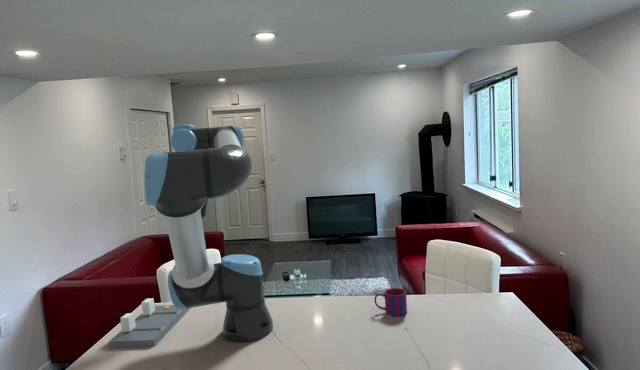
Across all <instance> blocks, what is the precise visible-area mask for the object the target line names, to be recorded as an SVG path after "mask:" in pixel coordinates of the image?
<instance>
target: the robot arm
mask: <svg viewBox="0 0 640 370" xmlns="http://www.w3.org/2000/svg"><path fill="white" fill-rule="evenodd" d="M243 132H244V131H243V128H242V127H241V126H240V125H229V126H228V125H227V126H212V127H198V128H196V125H194V124H192V123H191V124H188V123H187V124H186V123H185V124H177V125H176V124H175V125H174V126H172V135H171V137H170V144H171V147H172V149H173V150H174V151H170V152H169V151H166V150H165V151H163V152H157V153H150V154H148V155H147V157H146V158H145V160H144V175H143V176H144V182H143V183H144V199H145V203H146V205H148V206H155V207H154V208H155V210H156V211H157V213H159V214H160V215H162V216H163V217H164V220H165V224H166V229H167V233H168V237H169V241H170V246H171V251H172V254H173V255H172V256H173V259H174V265H173V268H172V269H171V270H170V271H168V275H167V287H168V292H169V297H170V300H171V302H172V305H174V306H175V307H176V308H178V309H184V308H188V309H189V310H190V309H193V308H198V307H203V306H209V305H215V304H221V303H225V305H226V306H225V307H226V310H225V316H224V320H223V324H222V334H223V337H224V338H225V339H227V340H228V341H231V342H238V343H245V342H251V341H252V342H253V341H256V340H259V339H261V338H264V337H266V336H267V335H268V334H270V333H271V332H272V331H273V329H274V323H273V322H274V321H273V318H272V316H271V313H270V311H269V309H268V307H267V305H266V300H265V298H266V297H265V290H264V281H263V275H264V272H263V270H262V269H263V268H262V264H261V260H260V259H259V258H258V257H256V256H253V255H250V254H242V253H241V254H239V253H238V254H237V253H236V254H229V255H225V256H223V257H222V258H221V260H220V262H217V263H213V261H212V259H210V258H209V257H208V254H207V253H208V252H207V248H206V247H207V246H206V239H205V232H204V225H203V218H205V217H206V215H207V208H208V200H209V199H218V198H222V197H225V196H228V195H229V194H233V192H235V191H237V190H238V189H239V188H241V187H242V186H243V185H244V184H245V183H246V182H247V180H248V179H249V177H250V175H251V173H252V167H253V163H252V159H251V156H250V154H249V152H248V151H247V150H246V149H245V148H244V146H245V145H244V144H245V143H244V140H245V139H244V133H243Z"/></svg>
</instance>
